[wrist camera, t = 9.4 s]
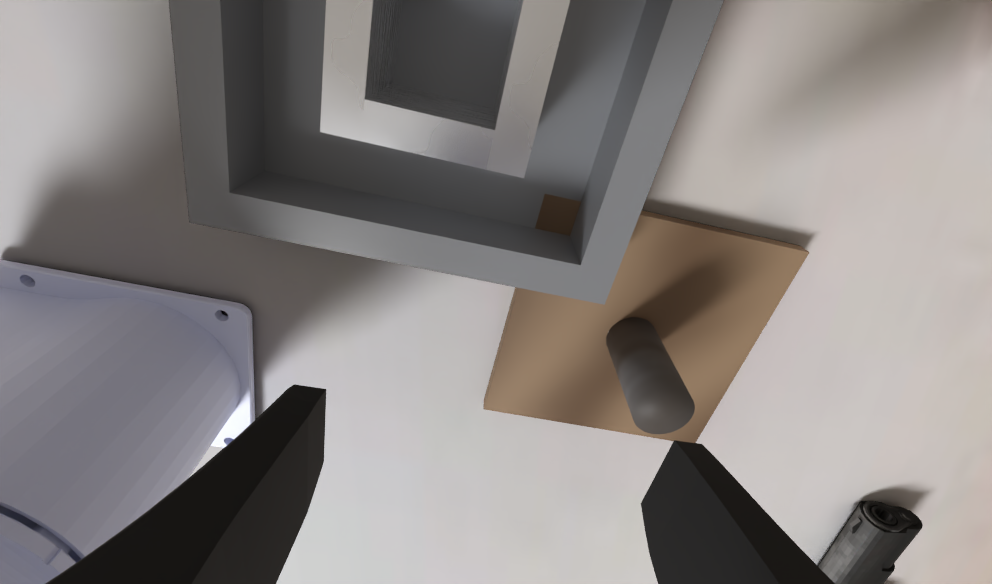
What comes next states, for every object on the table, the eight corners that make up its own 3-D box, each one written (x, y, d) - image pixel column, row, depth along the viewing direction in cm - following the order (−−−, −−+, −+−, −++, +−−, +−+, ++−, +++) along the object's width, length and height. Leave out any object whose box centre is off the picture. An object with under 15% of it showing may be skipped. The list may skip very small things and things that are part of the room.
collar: (356, 110, 15) (319, 131, 12) (373, -96, 12) (332, -139, 9) (517, 147, 15) (523, 178, 12) (564, -42, 13) (587, -65, 10)
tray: (237, 191, 17) (189, 222, 14) (215, -364, 11) (123, -493, 8) (588, 264, 18) (604, 304, 16) (749, -188, 12) (820, -248, 9)
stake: (484, 399, 21) (481, 490, 17) (543, 188, 17) (559, 241, 12) (689, 434, 22) (734, 527, 18) (800, 245, 18) (894, 312, 14)
